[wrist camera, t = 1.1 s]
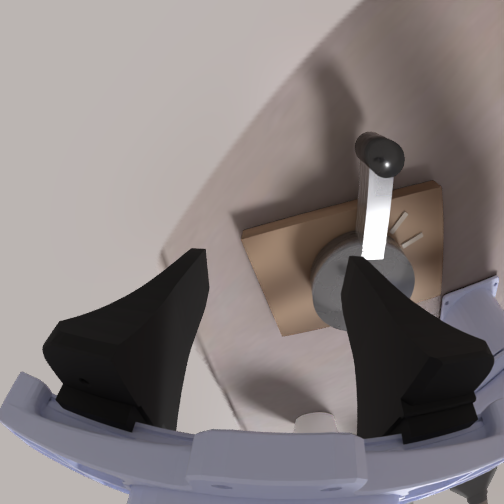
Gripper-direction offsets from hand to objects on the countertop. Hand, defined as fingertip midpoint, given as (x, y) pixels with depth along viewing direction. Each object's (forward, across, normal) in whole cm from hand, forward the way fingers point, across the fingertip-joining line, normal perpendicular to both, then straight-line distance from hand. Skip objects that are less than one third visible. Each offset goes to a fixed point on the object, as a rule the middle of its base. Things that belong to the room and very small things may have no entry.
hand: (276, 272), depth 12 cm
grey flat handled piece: (+9, -6, +2) cm, 11 cm away
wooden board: (+10, -7, +6) cm, 14 cm away
